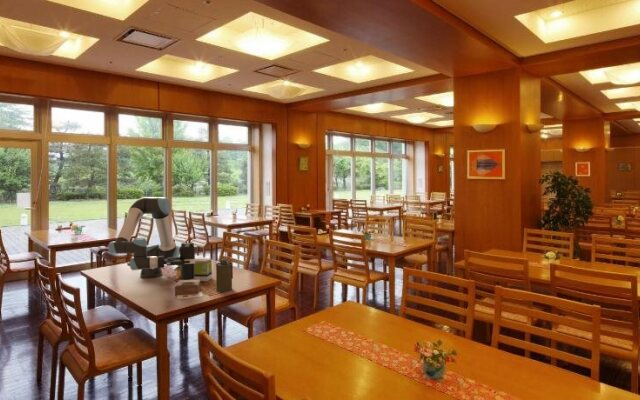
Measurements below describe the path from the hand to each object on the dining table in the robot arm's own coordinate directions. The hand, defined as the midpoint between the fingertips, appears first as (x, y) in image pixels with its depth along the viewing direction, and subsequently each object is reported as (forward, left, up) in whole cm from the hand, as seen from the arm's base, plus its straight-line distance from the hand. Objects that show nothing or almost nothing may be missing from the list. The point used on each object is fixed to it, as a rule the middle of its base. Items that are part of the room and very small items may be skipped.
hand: (194, 259), depth 257 cm
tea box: (-28, 0, -21) cm, 35 cm away
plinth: (+1, -4, -21) cm, 21 cm away
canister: (0, +19, -21) cm, 28 cm away
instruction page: (+9, -2, -21) cm, 23 cm away
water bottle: (+1, -4, -12) cm, 13 cm away
